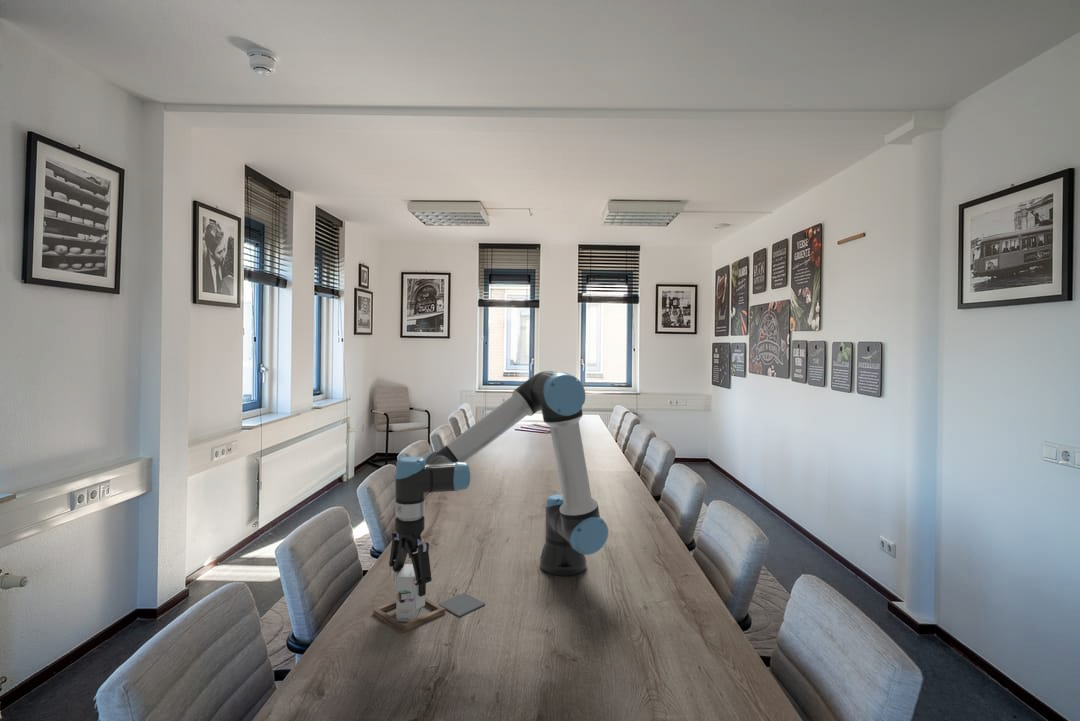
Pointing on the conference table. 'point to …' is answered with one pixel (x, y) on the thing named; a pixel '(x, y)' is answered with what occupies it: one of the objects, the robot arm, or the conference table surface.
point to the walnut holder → (404, 627)
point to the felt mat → (461, 604)
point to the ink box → (406, 594)
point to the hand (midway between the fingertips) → (409, 600)
